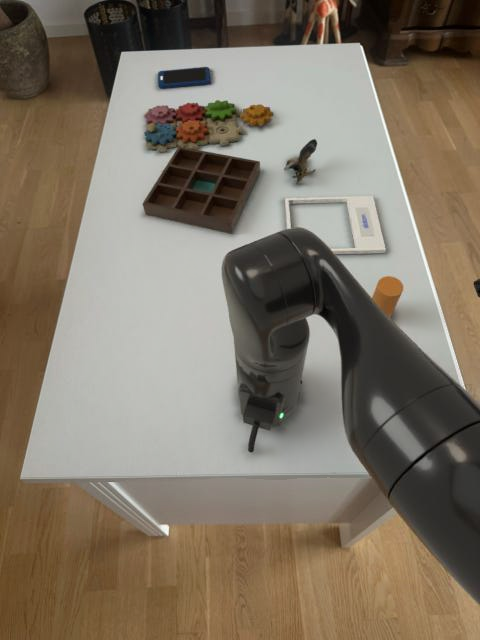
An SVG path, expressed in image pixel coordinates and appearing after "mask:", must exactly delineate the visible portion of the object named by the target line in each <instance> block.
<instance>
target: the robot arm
mask: <svg viewBox="0 0 480 640" xmlns="http://www.w3.org/2000/svg"><path fill="white" fill-rule="evenodd" d="M331 249H332V248H331V247H329V246H328V245H327V244H326V243H325V242H324V241H323V240H322V239H321V238H320V237H319V236H318V235H317V234H315V233H314V232H313V231H311V230H309V229H307V228H305V227H299V226H297V227H291V228H289V229H287V228H286V229H282V230H280V231H277V232H275V233H272V234H269V235H267V236H265V237H262V238H259V239H257V240H254V241H252V242H249V243H247V244H244V245H242V246H238V247H237V248H234V249H231V250H230V251H228V252H227V253H226V254H225V256H224V257H223V259H222V262H221V280H222V286H223V291H224V296H225V301H226V305H227V312H228V318H229V323H230V329H231V333H232V337H233V346H234V358H235V359H234V360H235V368H236V369H235V370H236V379H237V396H238V402H239V410H240V415H241V416H242V421H243V424H246V425H250V426H251V427H252V428H251V431H250V435H249V439H248V445H247V451H248V452H249V453H251V454H252V453H254V451H255V444H256V439H257V436H258V431H259V428H260V429H263V430H265V431H269V432H271V429H272V426H275V427H280V426H281V424H282V421H283V420H284V419H286V418H288V417H289V416H290V415H291V414H293V412H294V411H295V409H296V408H297V405H298V402H299V399H300V389H301V387H302V385H303V380H302V378H303V373H304V369H305V368H304V367H305V362H306V359H307V353H308V347H309V343H310V337H311V336H310V334H311V331H310V324H309V322H308V319H307V318H309V317H311V316H314V315H317V316H319V317H321V318H322V319H323V320H324V321H325V322H326V323H327V324H328V326H329V327H330V328H331V330H332V332H333V333H334V335H335V337H336V339H337V343H338V349H339V355H340V356H339V357H340V380H341V381H340V383H341V384H340V385H341V386H340V387H341V388H340V389H341V407H342V408H341V411H342V421H343V427H344V433H345V436H346V440H347V442H348V445H349V447H350V448H351V450H352V452H353V454H354V455H355V457H356V458H357V459H358V461H359V463H360V464H361V465H362V466H363V468H364V469H365V470H366V472H367V473H368V475H369V476H370V477H371V479H372V480H373V482H374V483H375V485H376V486H377V488H378V489H379V490H380V491H381V493H382V494H383V496H384V497H385V499H386V500H387V501H388V502H389V504H390V505H391V506H392V508H393V510H394V511H395V512H396V513H397V514H398V516H399V517H400V518H401V519H402V521H403V522H404V523H405V525H406V526H407V527H408V528H409V530H410V531H411V532H412V533H413V534H414V535H415V536H416V538H417V539H418V540H419V541H420V542H421V543H422V545H423V546H424V548H426V549H427V551H428V552H429V553H430V554H431V555H432V556H433V558H435V560H436V561H437V562H438V563H439V564H440V565H441V566H442V568H443V569H444V570H445V571H446V572H447V573H448V574H449V575H450V576H451V577H452V578H453V580H454V581H455V582H456V583H457V584H458V585H459V586H460V587H461V588H462V589H463V590H464V591H465V592H466V593H467V594H468V595H469V596H470V598H471V599H472V600H473V601H474V602H475V603H476V604H477V605H478V606H479V607H480V402H478V401H477V399H476V398H475V397H473V396H472V394H470V393H469V392H468V391H467V389H465V388H464V387H463V386H462V385H461V384H460V383H458V382H457V380H456V379H454V378H453V377H452V376H451V375H450V374H449V373H447V371H445V370H444V369H443V368H442V367H441V366H440V365H439V364H438V363H437V362H435V361H434V360H433V359H432V357H430V356H429V355H428V354H427V353H426V352H425V351H424V350H423V349H422V348H421V347H420V346H419V345H418V344H417V343H415V341H414V340H413V339H411V337H410V336H408V335H407V333H405V332H404V330H403V329H402V328H400V326H399V325H398V324H397V323H395V322H394V321H393V319H392V318H391V317H390V318H389V316H388V315H387V314H386V313H385V312H384V311H383V310H382V309H381V308H380V307H379V306H378V305H377V303H376V302H375V301H374V300H373V299H372V297H371V295H370V294H369V293H368V292H367V290H365V288H364V287H363V286H362V285H361V284H360V282H359V281H358V280H357V278H355V276H354V275H353V274H352V273H351V272H350V270H349V269H348V268H347V267H346V265H345V264H344V263H343V262H342V261H341V259H340V258H339V257H338V256H337V254H334V253H333V252H332V250H331ZM472 284H473V287H474V290H475V292H476V293H475V294H476V295H477V297H478V298H480V278H478V279H475V280H474V281H473V282H472Z"/></svg>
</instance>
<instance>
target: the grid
mask: <svg viewBox="0 0 480 640" xmlns="http://www.w3.org/2000/svg"><path fill="white" fill-rule="evenodd" d="M260 174H261V161H259V160H253V159H250V158H243V157H237V156H232V155H228V154H221V153H216V152H211V151H205V150H200V149H190V148H188V147H179V146H177V147H176V150H175V151H174V153H173V155H172V156H171V158H170V159H169V161H168V162H167V164H166V165H165V167H164V169H163V171H161V174H160V175H159V177H158V178H157V180H156V182H154V184H153V186H152V187H151V188H150V189H151V190H150V191H149V193H148V194H147V196H146V197H145V199H144V201H143V202H142V207H143V211H144V214H145V215H146V216H150V217H155V218H158V219H163V220H168V221H171V222H178V223H182V224H186V225H191V226H195V227H200V228H204V229H209V230H212V231H213V230H214V231H218V232H221V233H227V234H231V235H232V234H233V233H234V231H235V229H236V226H237V224H238V221H239V220H240V218H241V215H242V213H243V211H244V209H245V206H246V204H247V202H248V200H249V197H250V196H251V193H252V191H253V189H254V187H255V185H256V182H257V180H258V178H259V176H260Z"/></svg>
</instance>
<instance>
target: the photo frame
mask: <svg viewBox="0 0 480 640" xmlns="http://www.w3.org/2000/svg"><path fill="white" fill-rule="evenodd" d="M325 203H326V204H327V203H328V204H329V203H346V207H347V212H348V213H347V214H348V217H349V223H350V228H351V233H352V239H353V245H354V247H336V248H335V247H334V248H333V247H332V248H330V249H331V250H332V252H333V253H334V254H335V255H358V254H359V255H360V254H361V255H363V254H385V253H386V245H385V240H384V237H383V236H384V235H383V232H382V229H381V228H382V227H381V224H380V220H379V219H380V218H379V215H378V212H377V207H376V202H375V199H374V195H353V196H350V195H348V196H346V195H345V196H319V197H318V196H315V197H310V196H309V197H284V207H285V208H284V209H285V221H286V229H289V228H292V224H291V214H290V205H291V204H293V205H294V204H295V205H296V204H325Z"/></svg>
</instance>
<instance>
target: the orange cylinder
mask: <svg viewBox="0 0 480 640" xmlns="http://www.w3.org/2000/svg"><path fill="white" fill-rule="evenodd" d="M403 291H404V284H403V283H402V281H401V280H400V279H398V278H397V277H395V276H391V275H386V276H383V277H381V278H380V279H378V281H377V283H376V286H375V289H374V292H373V294H372V297H371V298H372V299H373V300H374V301H375V302H376V303H377V305H378V306H379V307H380V308H381V309H382V310H383V311H384V312H385V313H386V314H387V315H388V316H389V318H390V319H391V318H392V315H393V313H394V311H395V309H396V307H397V304H398V302H399V300H400V298H401V296H402V294H403Z"/></svg>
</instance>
